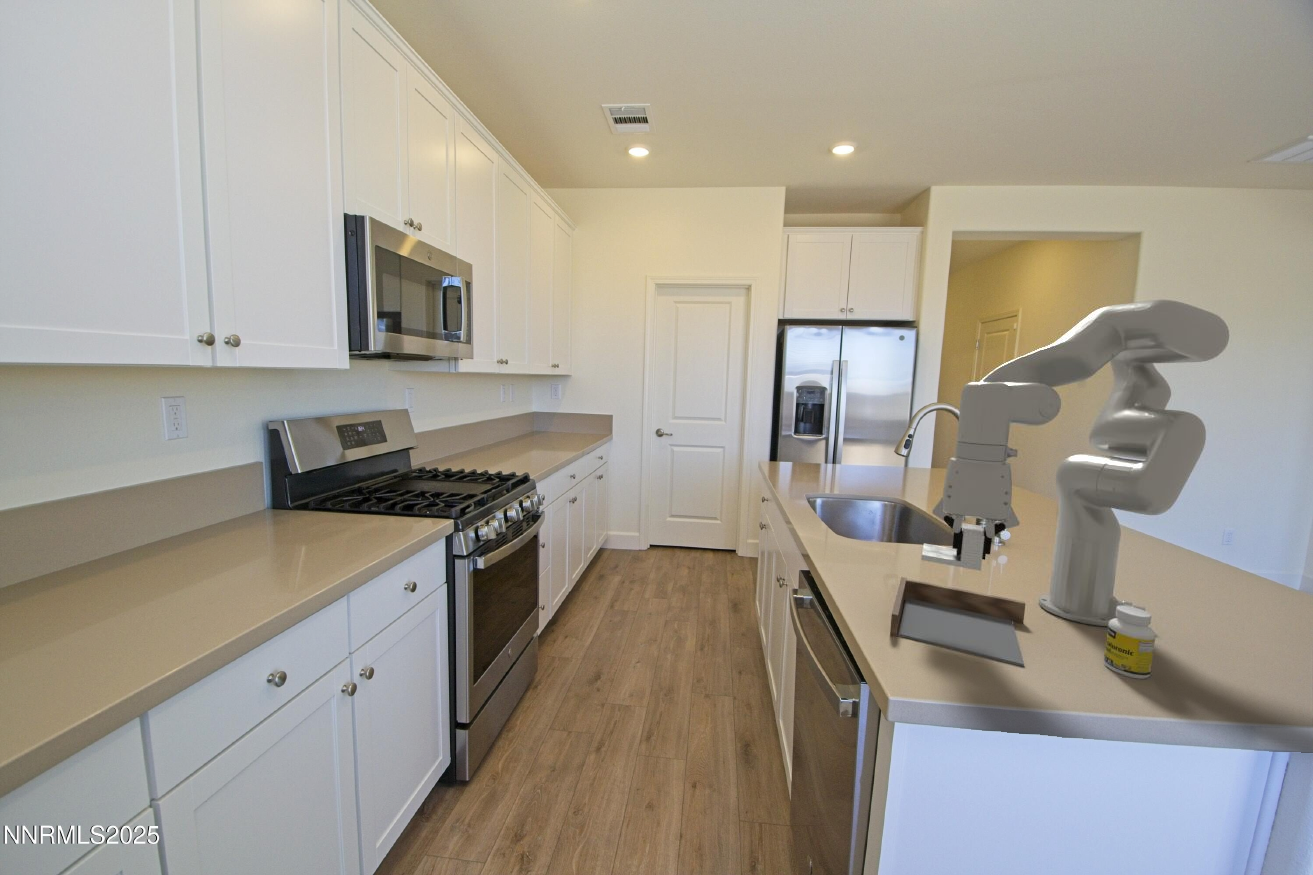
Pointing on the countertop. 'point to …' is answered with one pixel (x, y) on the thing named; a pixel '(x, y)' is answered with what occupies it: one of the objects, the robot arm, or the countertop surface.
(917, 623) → the slate mat
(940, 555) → the aluminium bracket
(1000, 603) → the walnut corner walls
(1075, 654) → the countertop surface
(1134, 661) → the supplement bottle
